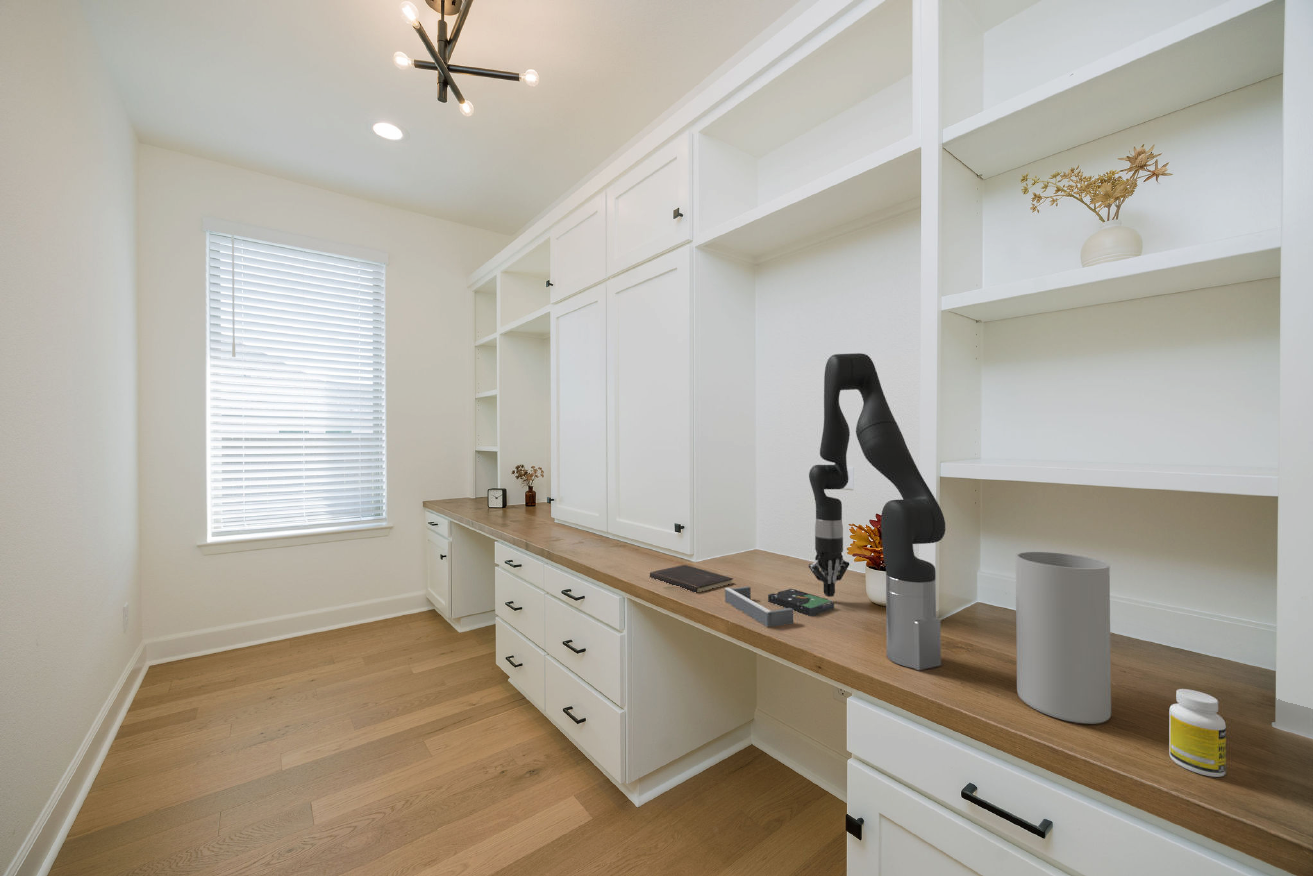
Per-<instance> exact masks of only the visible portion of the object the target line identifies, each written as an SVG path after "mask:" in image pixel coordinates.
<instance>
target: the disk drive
mask: <svg viewBox="0 0 1313 876" xmlns="http://www.w3.org/2000/svg"><path fill="white" fill-rule="evenodd" d="M767 596H768V599H767V602H768V603H769V602H770V604H772V603H773V604H772V605H775V604H777V605H776V606H778V605H779V607H781V606H783V607H782V608H784V607H785V608H784V609H786V608H792V609H793V610H794V611H793V612H796V611H797V612H796V613H799V614H801V613H802V614H803V615H805V616H807V615H808V617H814V616H818V615H820V614H822V613H825V612H826V613H827V612H830V611H832V610H834V609H835V603H834V601H833V600H830V599H828V598H826V597H822V596H818V595H815V594H811V593H808V592H805V591H801V590H797V589H795V588H794V589H793V588H788V589H784V590H781V591H778V592H777V593H774V592H773V593H769V594H768V595H767ZM802 614H801V615H802Z"/></svg>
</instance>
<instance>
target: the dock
mask: <svg viewBox="0 0 1313 876" xmlns="http://www.w3.org/2000/svg"><path fill="white" fill-rule="evenodd" d="M751 596H752V595H751V586H749V585H748V586H740V587H732V588H731V587H725V588H724V602H725V601H726V602H725V603H727V604H728V603H729V604H728V605H730V604H731V605H730V606H731V607H733V606H734V607H733V608H735V609H736V610H738V611H740V610H741V611H743V612H744V613H743V612H742V613H743V614H745V613H746V614H747V616H748V615H749V616H748V617H749V618H751V617H752V618H751V619H753V620H754V619H755V620H754V621H756V620H757V621H756V622H758V623H759V622H760V624H761V623H762V624H761V625H763V626H764V627H766V626H767V627H766V628H771V627H770V626H773V627H778V626H779V625H780V626H784V624H786V625H790V624H791V625H792V624H794V611H793V609H792V608H780V609H774V610H770V609H768V608H766V607H765V606H763V605H761V604H759V603H757V602H756V601H753V600H752V598H751ZM750 599H751V600H750ZM741 611H740V612H741ZM746 614H745V615H746ZM780 626H779V627H780Z"/></svg>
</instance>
